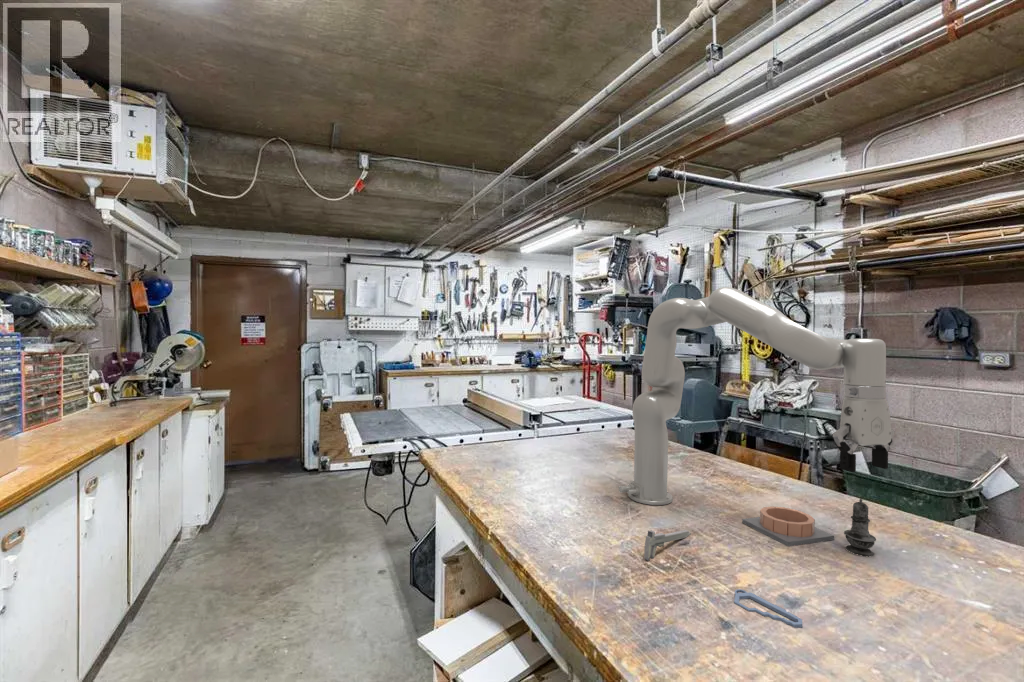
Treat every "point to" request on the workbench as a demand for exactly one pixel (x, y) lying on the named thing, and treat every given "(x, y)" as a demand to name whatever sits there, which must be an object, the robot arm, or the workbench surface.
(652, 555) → the caliper
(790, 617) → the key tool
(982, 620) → the workbench surface
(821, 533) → the shaker holder
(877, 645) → the workbench surface
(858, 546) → the dark flared piece
